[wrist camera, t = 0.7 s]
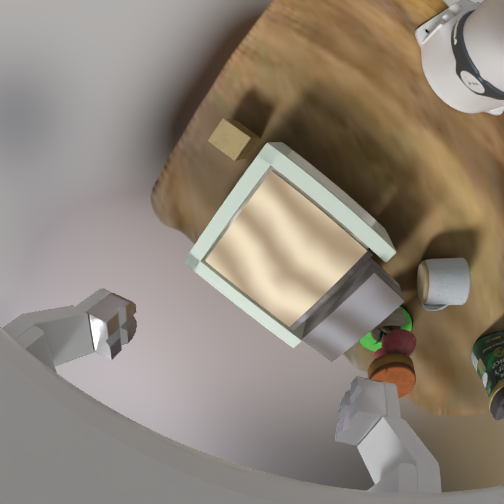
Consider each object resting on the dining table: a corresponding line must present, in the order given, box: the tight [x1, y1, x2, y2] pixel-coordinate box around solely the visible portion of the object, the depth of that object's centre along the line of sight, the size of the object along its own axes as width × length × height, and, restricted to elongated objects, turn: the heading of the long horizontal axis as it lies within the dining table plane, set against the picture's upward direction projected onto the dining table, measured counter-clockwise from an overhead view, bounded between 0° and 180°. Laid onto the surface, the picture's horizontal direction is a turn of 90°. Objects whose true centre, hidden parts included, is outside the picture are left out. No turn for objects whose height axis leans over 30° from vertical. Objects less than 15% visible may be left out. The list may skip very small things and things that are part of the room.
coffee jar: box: [472, 331, 504, 420], centre depth 37 cm, size 10×8×19 cm
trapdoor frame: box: [184, 142, 396, 348], centre depth 44 cm, size 21×21×10 cm
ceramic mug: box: [417, 258, 471, 311], centre depth 41 cm, size 11×8×8 cm
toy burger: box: [353, 306, 416, 398], centre depth 43 cm, size 12×13×15 cm
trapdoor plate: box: [205, 170, 405, 362], centre depth 40 cm, size 16×24×5 cm
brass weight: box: [208, 118, 261, 161], centre depth 43 cm, size 4×5×6 cm
